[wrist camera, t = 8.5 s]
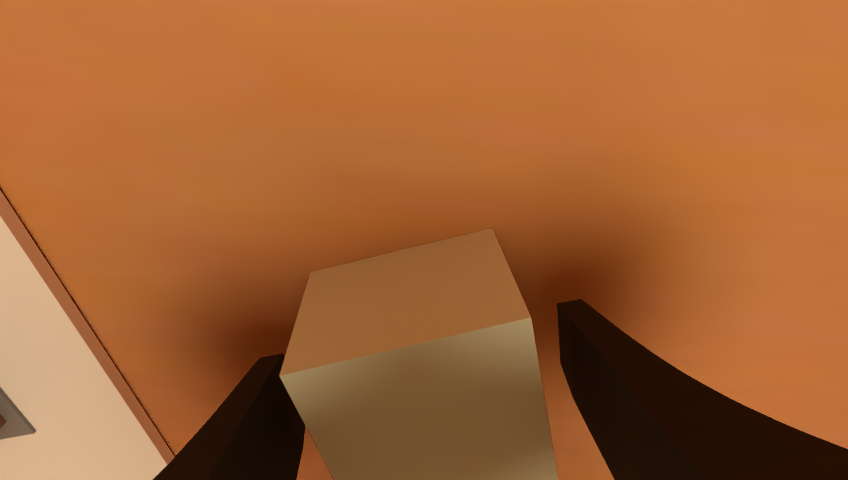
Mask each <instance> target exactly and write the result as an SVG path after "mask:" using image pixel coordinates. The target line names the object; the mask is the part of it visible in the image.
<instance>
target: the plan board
mask: <svg viewBox="0 0 848 480" xmlns="http://www.w3.org/2000/svg"><path fill="white" fill-rule="evenodd" d="M0 414H1V415H2V416H3V417H4V419H5V420H6V421H7V422H6V423H5V424H4V425H3V426H2V427H1V428H0V480H153V479H154V478H155V477H156V476H157V475H158V474H159V473H160V472H161V471H162V470H163V469H164V468H165V467H166V466H167V465H168V464H169V463H170V462H171V461H172V460H173V459H174V455H173V454H172V452H171V451H170V449H169V448H168V446H167V445H166V443H165V442H164V440H163V438H162V437H161V435H160V434H159V432H158V431H157V429H156V428H155V426H154V425H153V423H152V422H151V420H150V419H149V417H148V416H147V414H146V412H145V411H144V409H143V408H142V406H141V405H140V403H139V402H138V400H137V399H136V397H135V396H134V394H133V393H132V391H131V389H130V388H129V386H128V385H127V383H126V382H125V380H124V379H123V377H122V376H121V374H120V373H119V371H118V370H117V368H116V366H115V365H114V363H113V362H112V360H111V359H110V357H109V356H108V354H107V353H106V351H105V350H104V348H103V347H102V345H101V343H100V342H99V340H98V339H97V337H96V336H95V334H94V333H93V331H92V330H91V328H90V327H89V325H88V324H87V322H86V320H85V319H84V317H83V316H82V314H81V313H80V311H79V310H78V308H77V307H76V305H75V304H74V302H73V301H72V299H71V297H70V296H69V294H68V293H67V291H66V290H65V288H64V287H63V285H62V284H61V282H60V281H59V279H58V278H57V276H56V274H55V273H54V271H53V270H52V268H51V267H50V265H49V264H48V262H47V261H46V259H45V258H44V256H43V255H42V253H41V252H40V250H39V248H38V247H37V245H36V244H35V242H34V241H33V239H32V238H31V236H30V235H29V233H28V232H27V230H26V229H25V227H24V225H23V224H22V222H21V221H20V219H19V218H18V216H17V215H16V213H15V212H14V210H13V209H12V207H11V206H10V204H9V202H8V201H7V199H6V198H5V196H4V195H3V193H2V192H1V190H0Z"/></svg>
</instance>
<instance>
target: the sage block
mask: <svg viewBox="0 0 848 480" xmlns="http://www.w3.org/2000/svg"><path fill="white" fill-rule="evenodd" d="M279 376H280V378H281V380H282V382H283V384H284V386H285V388H286V390H287V392H288V394H289V395H290V397H291V399H292V401H293V403H294V405H295V407H296V409H297V411H298V413H299V414H300V416H301V418H302V420H303V422H304V424H305V426H306V428H307V430H308V431H309V433H310V435H311V437H312V439H313V441H314V443H315V445H316V447H317V449H318V450H319V452H320V454H321V456H322V458H323V460H324V462H325V464H326V466H327V467H328V469H329V471H330V473H331V475H332V477H333V479H334V480H558V475H557V469H556V463H555V457H554V451H553V445H552V439H551V433H550V427H549V421H548V415H547V409H546V403H545V397H544V391H543V385H542V379H541V373H540V367H539V361H538V355H537V349H536V343H535V337H534V331H533V325H532V320H531V316H530V314H529V311H528V309H527V307H526V304H525V302H524V300H523V298H522V295H521V293H520V291H519V288H518V286H517V284H516V282H515V279H514V277H513V275H512V272H511V270H510V268H509V265H508V263H507V261H506V259H505V256H504V254H503V252H502V249H501V247H500V245H499V242H498V240H497V238H496V236H495V233H494V231H493V229H492V228H490V229H486V230H482V231H477V232H473V233H469V234H465V235H461V236H457V237H453V238H449V239H445V240H440V241H436V242H432V243H428V244H424V245H420V246H416V247H412V248H408V249H403V250H399V251H395V252H391V253H387V254H383V255H379V256H375V257H371V258H366V259H362V260H358V261H354V262H350V263H346V264H342V265H338V266H334V267H330V268H325V269H321V270H317V271H313V272H310V275H309V278H308V282H307V285H306V288H305V292H304V295H303V298H302V302H301V305H300V308H299V312H298V315H297V318H296V322H295V325H294V328H293V332H292V335H291V338H290V342H289V345H288V348H287V352H286V355H285V358H284V362H283V365H282V368H281V372H280V375H279Z"/></svg>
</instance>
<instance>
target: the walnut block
mask: <svg viewBox="0 0 848 480" xmlns="http://www.w3.org/2000/svg"><path fill="white" fill-rule="evenodd" d="M6 422H7V421H6V420H5V419H4V417H3V416H2V415H1V414H0V428H1V427H2V426H3V425H4V424H5V423H6Z"/></svg>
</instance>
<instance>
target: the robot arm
mask: <svg viewBox="0 0 848 480" xmlns="http://www.w3.org/2000/svg"><path fill="white" fill-rule="evenodd" d="M557 310H558V327H559V344H560V361H561V366H562V369H563V372H564V374H565V377H566V380H567V383H568V385H569V388H570V391H571V393H572V396H573V399H574V401H575V403H576V405H577V407H578V409H579V411H580V413H581V415H582V417H583V419H584V421H585V423H586V425H587V427H588V429H589V430H590V432H591V434H592V436H593V438H594V440H595V442H596V444H597V446H598V448H599V450H600V452H601V454H602V456H603V458H604V460H605V462H606V464H607V466H608V468H609V470H610V471H611V473H612V475H613V477H614V479H615V480H848V449H846V448H843V447H840V446H838V445H835V444H833V443H830V442H828V441H825V440H822V439H820V438H817V437H815V436H812V435H810V434H807V433H805V432H802V431H800V430H798V429H795V428H793V427H790V426H788V425H786V424H783V423H781V422H779V421H776V420H774V419H772V418H770V417H768V416H766V415H764V414H761V413H759V412H757V411H755V410H753V409H751V408H748V407H746V406H744V405H742V404H740V403H738V402H736V401H734V400H732V399H730V398H728V397H726V396H724V395H722V394H721V393H719V392H717V391H715V390H713V389H711V388H710V387H708V386H706V385H704V384H702V383H700V382H699V381H697V380H695V379H693V378H692V377H690V376H688V375H686V374H685V373H683V372H681V371H680V370H678V369H677V368H675V367H674V366H672V365H670V364H669V363H667V362H666V361H664V360H663V359H661V358H660V357H658V356H657V355H655V354H654V353H652V352H651V351H649V350H648V349H646V348H645V347H644V346H642V345H641V344H639V343H638V342H637V341H635V340H634V339H632V338H631V337H630V336H628V335H627V334H626V333H624V332H623V331H622V330H620V329H619V328H618V327H616V326H615V325H614V324H612V323H611V322H610V321H608V320H607V319H606V318H605V317H603V316H602V315H601V314H600V313H598V312H597V311H596V310H594V309H593V308H592V307H591V306H589V305H588V304H587V303H586V302H584V301H583V300H581V299H579V300H573V301H568V302H562V303H557ZM284 358H285V357H284V355H283V354H278V355H273V356H267V357H262V358H260V359H259V360H258V361H257V362H256V363H255V364H254V366H253V367H252V368H251V369H250V370H249V372H248V373H247V374H246V375H245V376H244V378H243V379H242V380H241V381H240V383H239V384H238V385H237V386H236V387H235V389H234V390H233V391H232V392H231V394H230V395H229V396H228V397H227V398H226V400H225V401H224V402H223V403H222V404H221V406H220V407H219V408H218V409H217V410H216V412H215V413H214V414H213V415H212V416H211V418H210V419H209V420H208V421H207V422H206V423H205V424H204V426H203V427H202V428H201V429H200V430H199V431H198V432H197V433H196V434H195V435H194V437H193V438H192V439H191V440H190V441H189V442H188V443H187V444H186V445H185V447H184V448H183V449H182V450H181V451H180V452H179V453H178V454H177V455H176V456H175V457H174V459H173V460H172V461H171V462H170V463H169V464H168V465H167V466H166V467H165V468H164V469H163V470H162V471H161V472H160V473H159V474H158V475H157V476H156V477H155V478H154V479H153V480H296V478H297V473H298V469H299V464H300V459H301V455H302V450H303V443H304V433H305V424H304V422H303V420H302V418H301V416H300V414H299V413H298V411H297V409H296V407H295V405H294V403H293V401H292V399H291V397H290V395H289V394H288V392H287V390H286V388H285V386H284V384H283V382H282V380H281V378H280V376H279V375H280V372H281V368H282V365H283V362H284Z"/></svg>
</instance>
